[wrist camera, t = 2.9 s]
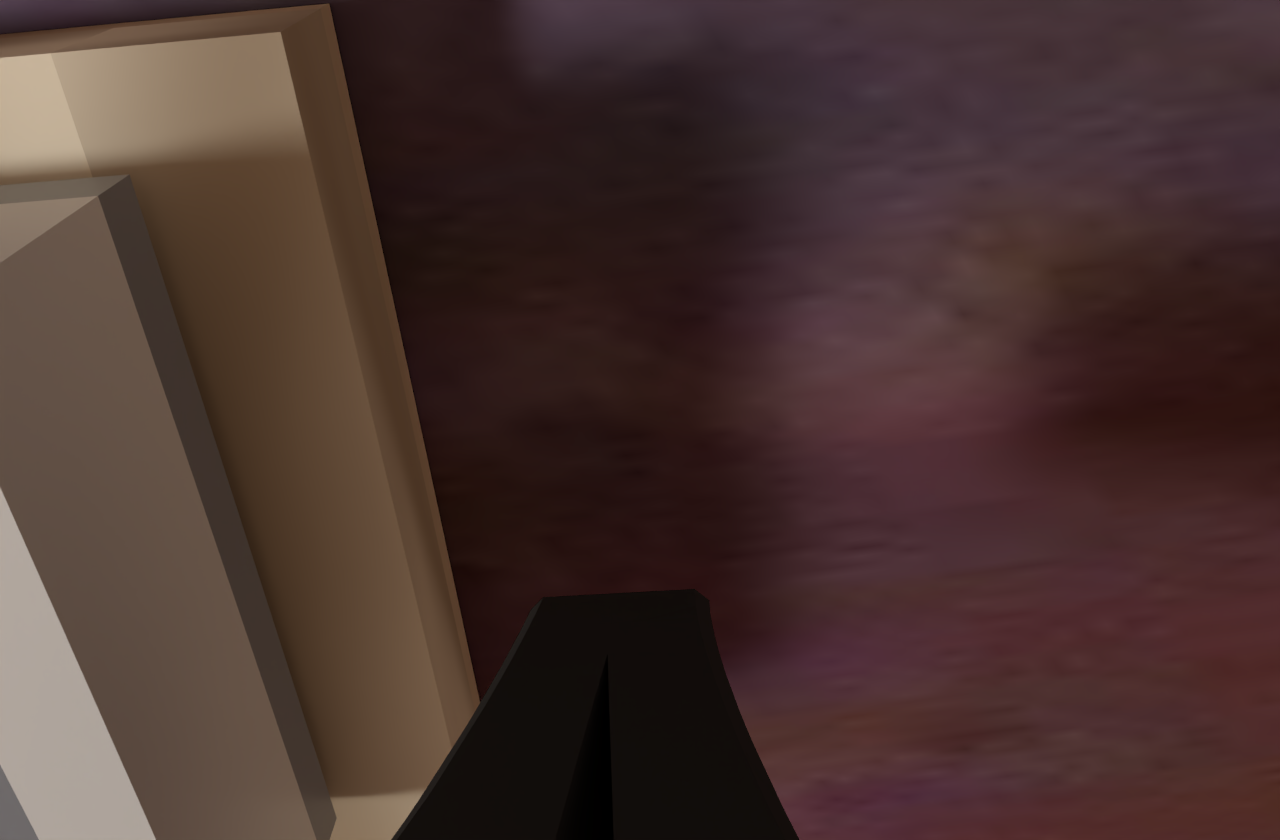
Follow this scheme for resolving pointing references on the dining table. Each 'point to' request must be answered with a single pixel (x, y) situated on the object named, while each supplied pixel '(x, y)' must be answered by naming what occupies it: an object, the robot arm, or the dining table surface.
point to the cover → (126, 558)
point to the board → (279, 356)
